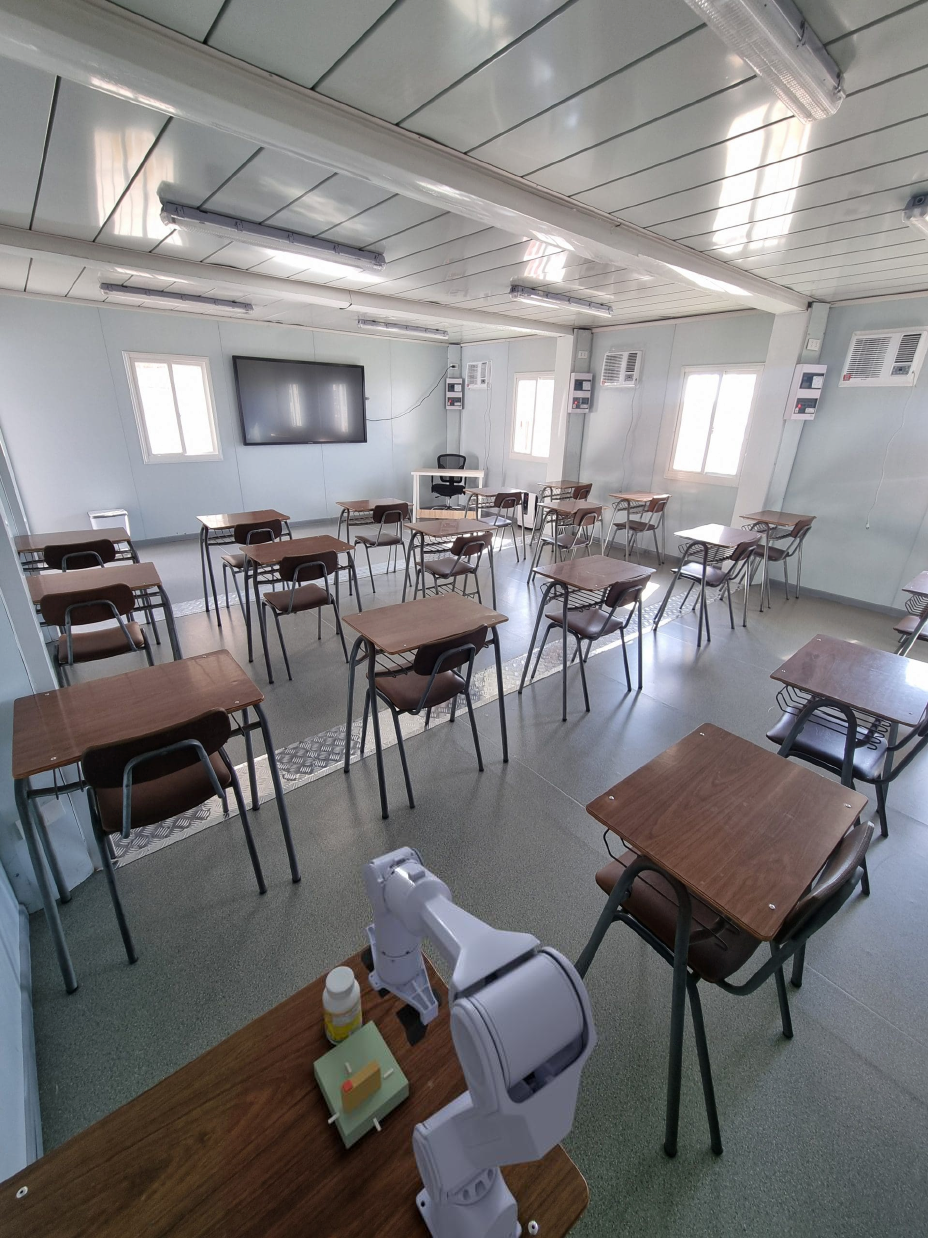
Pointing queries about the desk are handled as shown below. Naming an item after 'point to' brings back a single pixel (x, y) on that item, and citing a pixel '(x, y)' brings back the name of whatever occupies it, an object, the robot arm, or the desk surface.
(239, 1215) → the desk surface
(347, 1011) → the supplement bottle
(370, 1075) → the block
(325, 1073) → the lock plate
